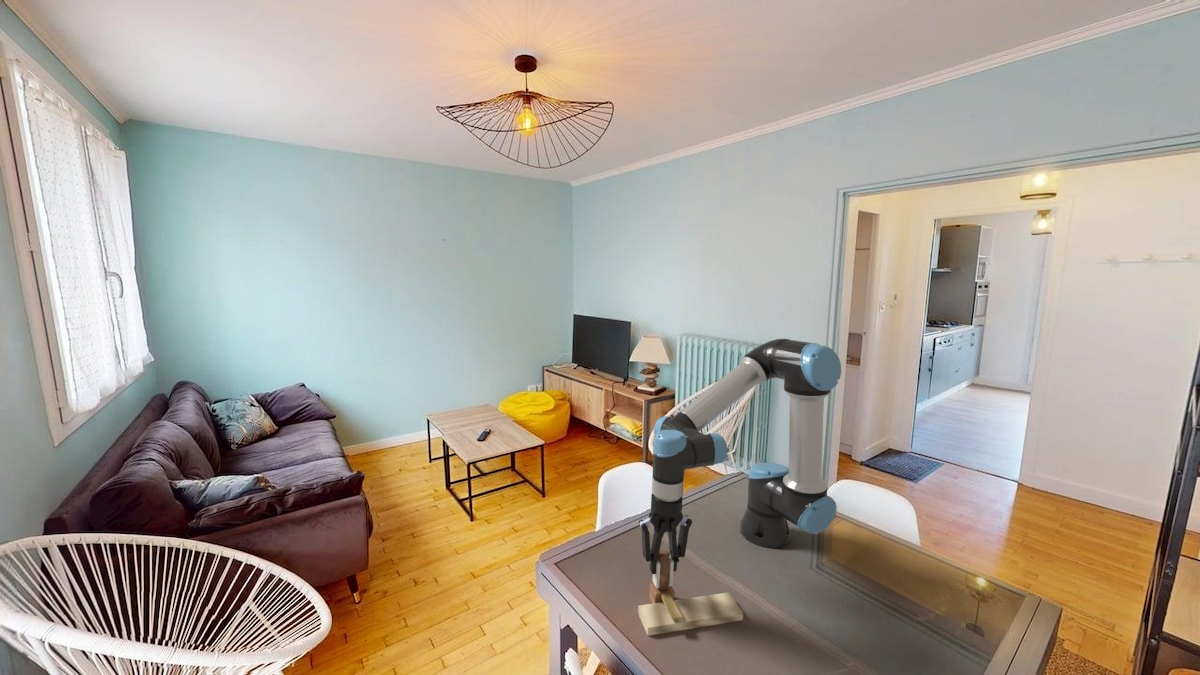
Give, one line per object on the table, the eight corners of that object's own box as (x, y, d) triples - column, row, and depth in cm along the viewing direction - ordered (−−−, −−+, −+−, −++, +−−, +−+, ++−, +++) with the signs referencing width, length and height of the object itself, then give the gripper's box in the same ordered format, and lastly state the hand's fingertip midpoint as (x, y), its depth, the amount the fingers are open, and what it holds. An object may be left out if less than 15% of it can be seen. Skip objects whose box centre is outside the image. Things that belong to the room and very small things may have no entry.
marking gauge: (667, 595, 113) (670, 547, 112) (687, 631, 102) (690, 579, 100) (649, 597, 112) (651, 550, 110) (667, 634, 101) (670, 581, 99)
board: (727, 599, 112) (728, 592, 112) (742, 620, 106) (743, 612, 105) (637, 613, 107) (638, 605, 106) (647, 635, 100) (647, 627, 100)
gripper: (690, 484, 113) (685, 570, 116) (631, 489, 109) (627, 577, 112) (704, 499, 105) (698, 589, 108) (640, 505, 102) (636, 598, 105)
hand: (662, 583), depth 110 cm, fingers closed on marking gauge, 3 cm apart
